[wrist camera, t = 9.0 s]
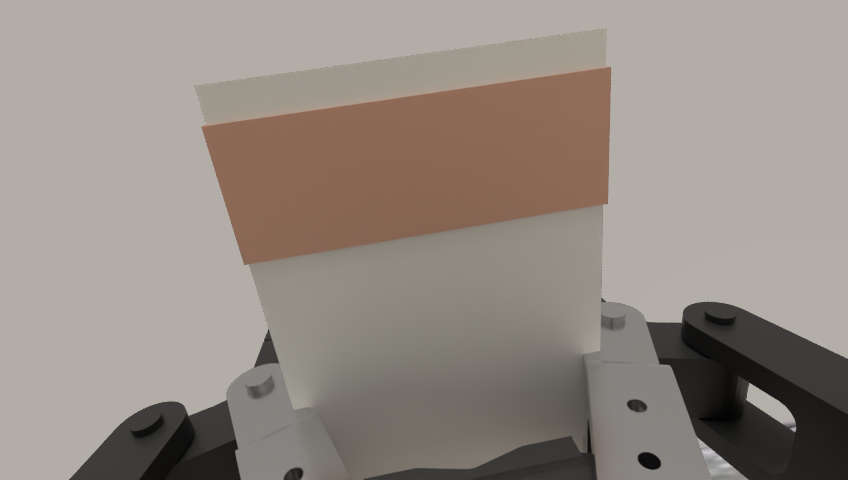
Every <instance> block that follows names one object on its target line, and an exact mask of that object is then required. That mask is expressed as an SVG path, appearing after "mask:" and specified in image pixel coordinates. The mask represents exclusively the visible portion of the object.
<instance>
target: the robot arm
mask: <svg viewBox="0 0 848 480" xmlns="http://www.w3.org/2000/svg"><path fill="white" fill-rule="evenodd" d="M583 377H584V393H585V436H583V453H581V452H580V451H579V449H578V447H577V445H576V444H575V442H574V440H573V438H572V437H571V436H568V437H564V438H559V439H554V440H549V441H544V442H539V443H535V444H530V445H525V446H521V447H519V448H517V449H514V450H512V451H510V452H508V453H506V454H504V455H502V456H499V457H497V458H495V459H493V460H491V461H489V462H487V463H484V464H482V465H480V466H478V467H475V468H472V469H441V468H413V469H409V470H404V471H399V472H394V473H389V474H384V475H380V476H375V477H370V478H365V479H364V480H712V479H711V476H710V473H709V471H708V468H707V465H706V462H705V459H704V457H703V454H702V451H701V448H700V445H699V443H698V440H697V437H698V438H699V439H700V440H701V441H703V442H704V443H705V444H706V445H707V446H709V447H710V448H711V449H712V450H713V451H715V452H716V453H717V454H718V455H720V456H721V457H722V458H723V459H724V460H726V461H727V462H728V463H729V464H730V465H732V466H733V467H734V468H735V469H736V470H738V471H739V472H740V473H741V474H743V475H744V476H745V477H746V478H747V479H749V480H848V359H846V358H844V357H843V356H840V355H838V354H836V353H834V352H832V351H830V350H828V349H825V348H823V347H821V346H819V345H817V344H815V343H813V342H811V341H809V340H807V339H805V338H802V337H800V336H798V335H796V334H794V333H792V332H790V331H788V330H785V329H783V328H781V327H779V326H777V325H775V324H773V323H771V322H769V321H767V320H764V319H762V318H760V317H758V316H756V315H754V314H752V313H750V312H748V311H745V310H743V309H741V308H738V307H735V306H732V305H729V304H724V303H717V302H700V303H695V304H692V305H689V306H688V307H686V308H685V309H684V311H683V318H682V323H655V322H654V323H653V322H646V321H645V318H644V316H643V315H642V313H641V312H639V311H638V310H637V309H635V308H633V307H631V306H628V305H625V304H621V303H615V302H606V301H604V300H603V299H602V298H601V338H600V351H597V352H591V353H586V354H583ZM749 383H751V384H753V385H754V386H756V387H757V388H759V389H761V390H762V391H764V392H766V393H767V394H769V395H770V396H772V397H774V398H775V399H777V400H779V401H780V402H781V403H782V404H784V405H785V406H786V407H787V408H788V409H789V411H790V412H791V413H792V415H793V417H794V419H795V422H796V432H793V431H792V430H790V429H789V428H787V427H786V426H784V425H783V424H781V423H780V422H778V421H777V420H775V419H774V418H772V417H771V416H769V415H768V414H766V413H765V412H763V411H762V410H760V409H759V408H757V407H756V406H754V405H753V404H751V403H750V402H748V401H747V400H746V398H747V392H748V386H749ZM226 396H227V400H226V401H224V402H222V403H220V404H218V405H215V406H214V407H210V408H208V409H205V410H203V411H200V412H198V413H195V414H193V415H190V416H188V414H187V411H186V409H185V407H184V406H183V405H182V404H181V403H178V402H162V403H159V404H155V405H152V406H149V407H147V408H145V409H142V410H140V411H138V412H137V413H135V414H133V415H132V416H130V417H129V418H128V419H126V420H125V421H124V422H123V423H121V424H120V425H119V426H118V427H117V428H116V429H115V430H114V431H113V433H112V434H111V435H110V436H109V437H108V438H107V439H106V440H105V441H104V443H102V445H101V446H100V447H99V448H98V449H97V450H96V451H95V452H94V453H93V454H92V456H91V457H90V458H89V459H88V460H87V461H86V462H85V463H84V464H83V465H82V466H81V467H80V469H79V470H78V471H77V472H76V473H75V474H74V475H73V476H72V477H71V478H70V479H69V480H351V478H350V476H349V474H348V472H347V470H346V468H345V466H344V464H343V462H342V460H341V458H340V456H339V455H338V453H337V451H336V449H335V447H334V445H333V443H332V441H331V439H330V437H329V435H328V433H327V431H326V429H325V427H324V425H323V423H322V421H321V419H320V417H319V416H318V414H317V413H316V412H315V413H313V414H312V412H311V410H310V408H309V407H305V408H300V409H295V410H293V406H292V403H291V400H290V397H289V393H288V390H287V387H286V384H285V380H284V377H283V374H282V371H281V367H280V364H279V361H278V357H277V354H276V351H275V348H274V344H273V341H272V338H271V335H270V331H269V329H268V333H267V334H266V337H265V339H264V342H263V345H262V347H261V350H260V353H259V356H258V358H257V361H256V363H255V366H254V368H252V369H250V370H248V371H247V372H245V373H243V374H242V375H240V376H239V377H238V378H236V379H235V380H234V381H233V383H231V385H230V386H229V388H228V390H227V394H226ZM696 436H697V437H696Z"/></svg>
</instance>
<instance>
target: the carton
mask: <svg viewBox="0 0 848 480" xmlns="http://www.w3.org/2000/svg"><path fill="white" fill-rule="evenodd" d="M606 33H607V29H598V30H591V31H584V32H577V33H570V34H563V35H556V36H548V37H542V38H534V39H527V40H520V41H512V42H505V43H498V44H491V45H484V46H476V47H470V48H462V49H455V50H448V51H441V52H433V53H426V54H419V55H412V56H405V57H398V58H390V59H384V60H376V61H369V62H362V63H355V64H347V65H340V66H333V67H326V68H319V69H312V70H305V71H297V72H290V73H283V74H276V75H269V76H262V77H254V78H247V79H240V80H233V81H226V82H219V83H211V84H205V85H197V86H195V89H196V93H197V96H198V99H199V102H200V106H201V109H202V112H203V116H204V119H205V122H206V125H205V126H202V130H203V133H204V137H205V140H206V143H207V146H208V149H209V153H210V156H211V159H212V162H213V165H214V169H215V172H216V175H217V179H218V182H219V185H220V188H221V191H222V195H223V198H224V201H225V204H226V207H227V211H228V214H229V217H230V220H231V224H232V227H233V230H234V233H235V236H236V240H237V243H238V246H239V249H240V253H241V256H242V259H243V262H244V265H246V264H249V266H250V269H251V272H252V275H253V279H254V282H255V286H256V289H257V292H258V295H259V298H260V302H261V305H262V308H263V312H264V315H265V318H266V321H267V325H268V328H269V331H270V335H271V338H272V341H273V344H274V348H275V351H276V354H277V357H278V361H279V364H280V367H281V371H282V374H283V377H284V380H285V384H286V387H287V390H288V393H289V397H290V400H291V403H292V406H293V410H295V409H300V408H305V407H309V408H310V410H311V412H312V414H313V413H315V412H316V413H317V414H318V416H319V417H320V419H321V421H322V423H323V425H324V427H325V429H326V431H327V433H328V435H329V437H330V439H331V441H332V443H333V445H334V447H335V449H336V451H337V453H338V455H339V456H340V458H341V460H342V462H343V464H344V466H345V468H346V470H347V472H348V474H349V476H350V478H351V480H364V479H365V478H370V477H375V476H380V475H384V474H389V473H394V472H399V471H404V470H409V469H413V468H441V469H472V468H475V467H478V466H480V465H482V464H484V463H487V462H489V461H491V460H493V459H495V458H497V457H499V456H502V455H504V454H506V453H508V452H510V451H512V450H514V449H517V448H519V447H521V446H525V445H530V444H535V443H539V442H544V441H549V440H554V439H559V438H564V437H568V436H571V437H572V438H573V440H574V442H575V444H576V445H577V447H578V449H579V451H580V452H581V453H583V436H585V393H584V377H583V354H586V353H591V352H597V351H600V338H601V287H602V237H603V232H602V231H603V204H608V175H609V132H610V92H611V91H610V90H611V67H606Z"/></svg>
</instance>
